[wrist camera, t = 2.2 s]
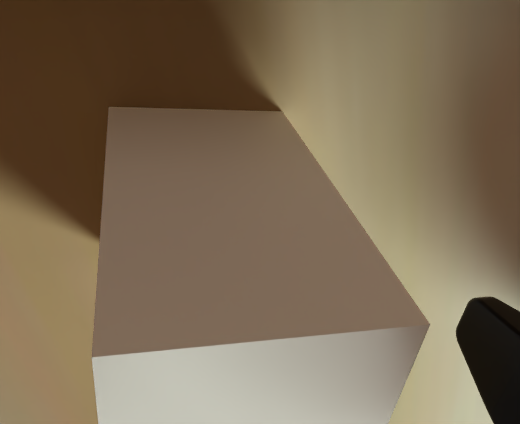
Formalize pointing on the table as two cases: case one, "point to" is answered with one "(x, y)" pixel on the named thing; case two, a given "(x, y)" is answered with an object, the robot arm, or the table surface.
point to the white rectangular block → (239, 280)
